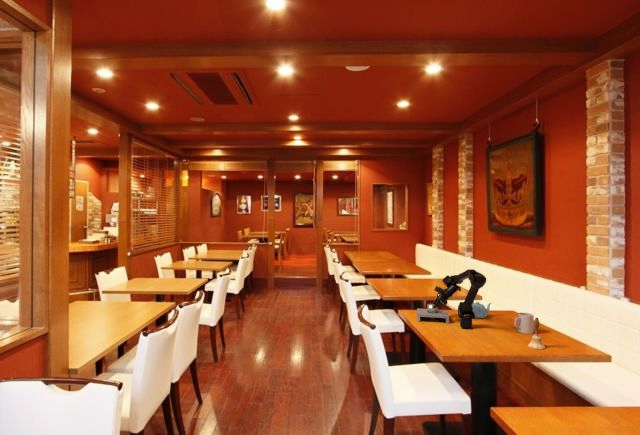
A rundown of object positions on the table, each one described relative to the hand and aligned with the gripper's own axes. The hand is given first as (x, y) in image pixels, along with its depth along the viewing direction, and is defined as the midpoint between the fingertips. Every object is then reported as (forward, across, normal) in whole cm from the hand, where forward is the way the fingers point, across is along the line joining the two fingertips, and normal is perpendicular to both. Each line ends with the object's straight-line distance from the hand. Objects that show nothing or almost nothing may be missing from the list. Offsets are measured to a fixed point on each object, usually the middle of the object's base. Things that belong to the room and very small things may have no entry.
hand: (433, 306), depth 260 cm
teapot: (-15, -18, +28) cm, 37 cm away
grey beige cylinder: (+6, 0, +5) cm, 8 cm away
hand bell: (-31, +41, +44) cm, 68 cm away
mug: (-31, +14, +44) cm, 56 cm away
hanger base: (+7, 0, +6) cm, 9 cm away
